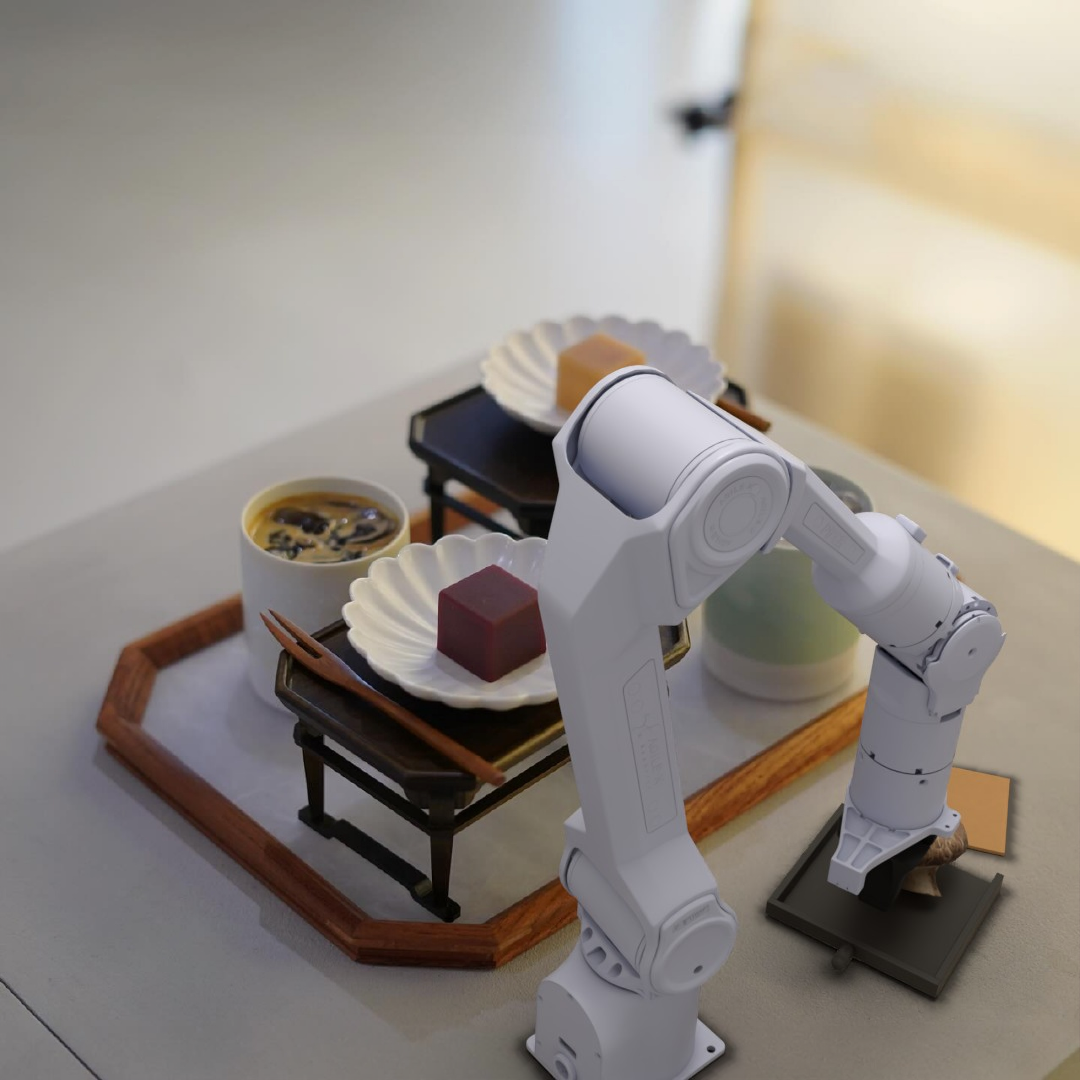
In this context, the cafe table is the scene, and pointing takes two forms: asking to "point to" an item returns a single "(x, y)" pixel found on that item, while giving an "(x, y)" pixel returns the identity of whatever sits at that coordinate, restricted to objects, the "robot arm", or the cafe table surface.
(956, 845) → the mushroom
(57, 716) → the cafe table surface
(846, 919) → the pan
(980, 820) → the mat
